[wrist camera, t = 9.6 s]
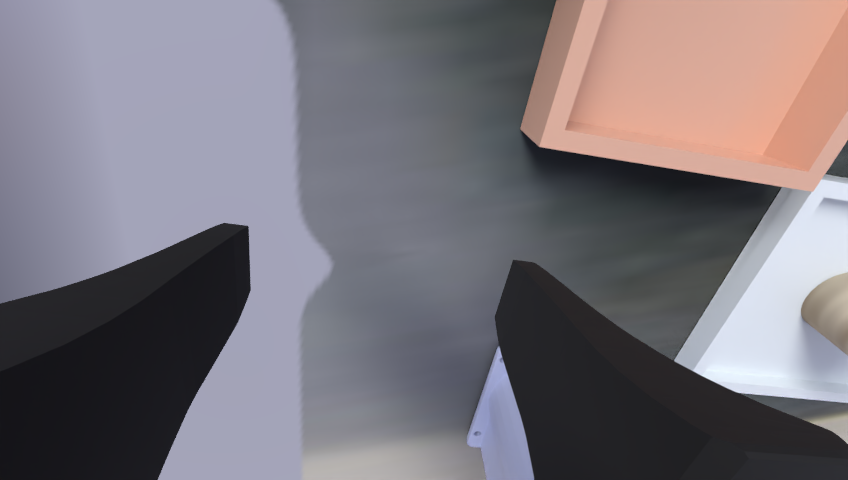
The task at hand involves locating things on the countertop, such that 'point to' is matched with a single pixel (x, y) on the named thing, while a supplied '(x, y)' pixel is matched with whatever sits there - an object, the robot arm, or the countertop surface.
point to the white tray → (778, 303)
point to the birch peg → (829, 310)
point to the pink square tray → (697, 86)
